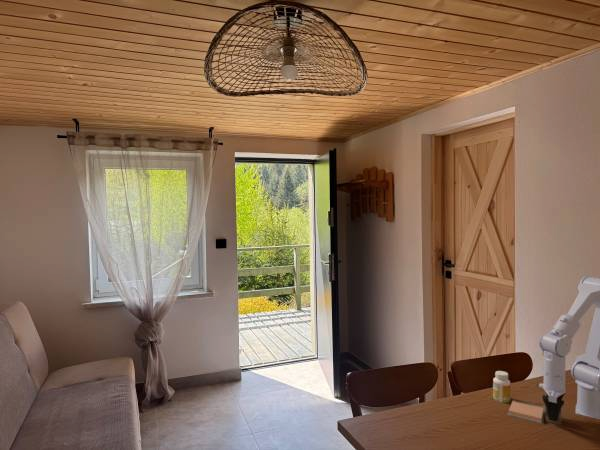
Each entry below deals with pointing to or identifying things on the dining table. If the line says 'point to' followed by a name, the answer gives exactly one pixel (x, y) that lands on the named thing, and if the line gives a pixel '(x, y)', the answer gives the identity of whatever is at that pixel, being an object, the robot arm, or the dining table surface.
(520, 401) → the mat
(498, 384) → the supplement bottle
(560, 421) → the block
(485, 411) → the dining table surface
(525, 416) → the tile
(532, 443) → the dining table surface
